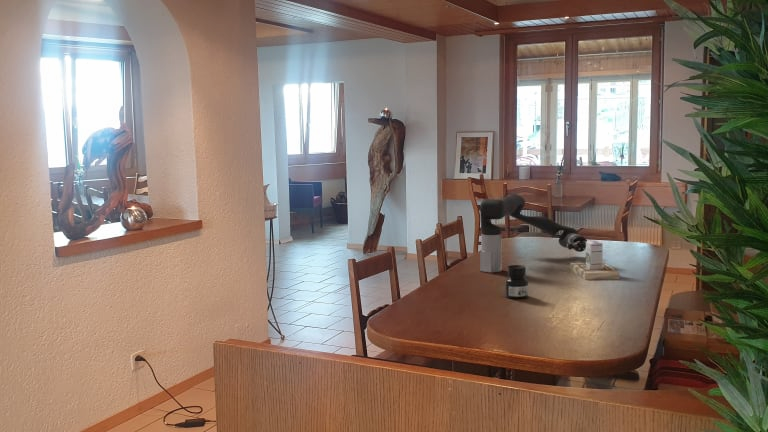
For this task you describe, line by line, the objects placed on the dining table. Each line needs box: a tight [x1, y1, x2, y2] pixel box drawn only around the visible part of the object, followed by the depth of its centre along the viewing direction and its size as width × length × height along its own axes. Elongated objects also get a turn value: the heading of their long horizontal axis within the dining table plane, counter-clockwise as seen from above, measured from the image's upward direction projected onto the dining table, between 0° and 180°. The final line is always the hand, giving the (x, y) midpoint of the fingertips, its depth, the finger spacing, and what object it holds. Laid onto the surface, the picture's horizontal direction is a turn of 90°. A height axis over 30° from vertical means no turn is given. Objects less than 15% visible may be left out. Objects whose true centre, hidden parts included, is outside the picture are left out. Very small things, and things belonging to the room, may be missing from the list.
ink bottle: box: [504, 264, 529, 300], centre depth 275 cm, size 10×9×12 cm
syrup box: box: [585, 240, 604, 270], centre depth 313 cm, size 6×6×14 cm
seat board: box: [570, 262, 620, 281], centre depth 314 cm, size 22×15×3 cm
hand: (587, 248), depth 323 cm, fingers open, 8 cm apart
